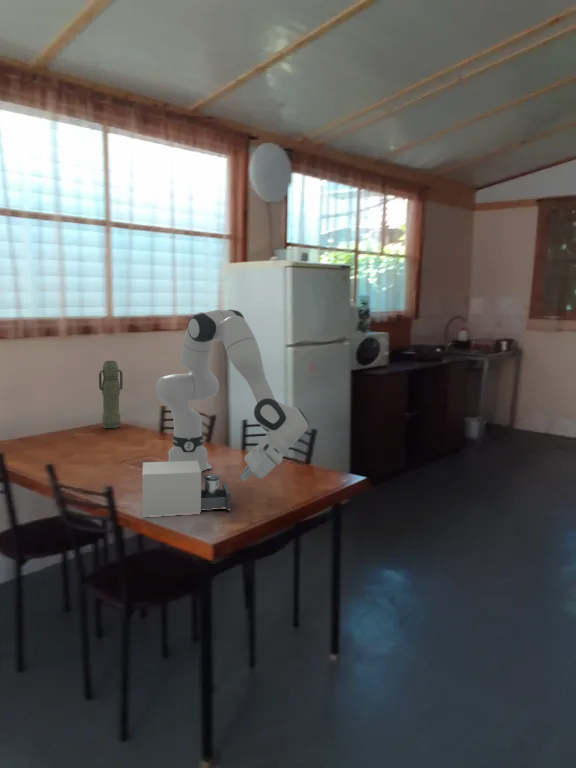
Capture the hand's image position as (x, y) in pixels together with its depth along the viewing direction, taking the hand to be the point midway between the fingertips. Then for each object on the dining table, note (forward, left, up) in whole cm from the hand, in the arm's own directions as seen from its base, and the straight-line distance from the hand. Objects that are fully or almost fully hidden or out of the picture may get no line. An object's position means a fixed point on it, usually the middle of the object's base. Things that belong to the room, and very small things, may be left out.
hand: (241, 478), depth 200 cm
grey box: (0, -23, -9) cm, 25 cm away
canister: (0, -10, -8) cm, 13 cm away
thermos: (-131, -50, -9) cm, 141 cm away
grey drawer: (0, -13, -9) cm, 16 cm away
